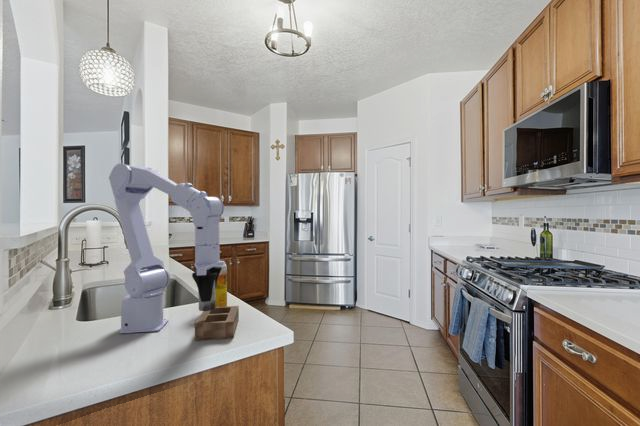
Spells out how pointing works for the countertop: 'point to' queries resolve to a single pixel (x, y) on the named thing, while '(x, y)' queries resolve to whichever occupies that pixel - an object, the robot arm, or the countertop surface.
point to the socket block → (217, 323)
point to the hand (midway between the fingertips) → (208, 298)
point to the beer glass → (221, 287)
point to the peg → (210, 304)
